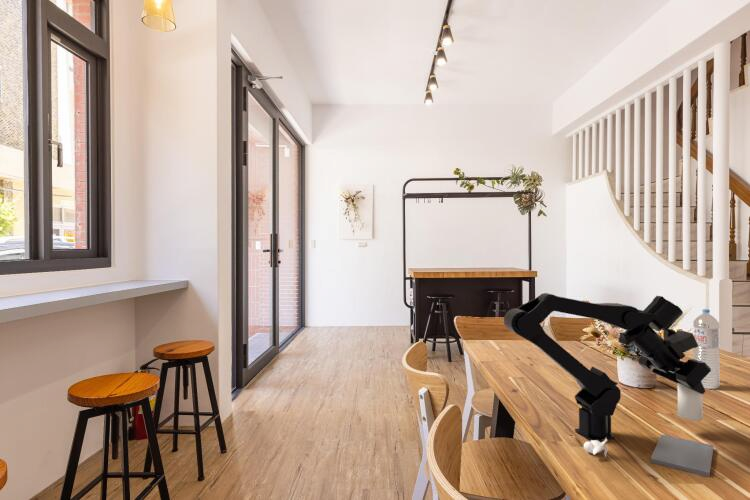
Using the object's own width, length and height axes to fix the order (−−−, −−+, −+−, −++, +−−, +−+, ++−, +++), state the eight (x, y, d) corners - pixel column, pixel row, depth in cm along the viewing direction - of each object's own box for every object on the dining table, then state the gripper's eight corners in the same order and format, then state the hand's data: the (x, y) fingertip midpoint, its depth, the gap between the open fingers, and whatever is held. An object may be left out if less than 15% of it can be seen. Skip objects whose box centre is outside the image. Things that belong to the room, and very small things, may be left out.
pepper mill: (690, 421, 108) (690, 370, 108) (672, 413, 113) (672, 365, 113) (707, 419, 109) (707, 369, 109) (688, 412, 114) (688, 364, 114)
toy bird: (580, 442, 105) (588, 423, 105) (601, 452, 104) (609, 433, 103) (582, 457, 98) (591, 437, 97) (605, 468, 96) (614, 448, 96)
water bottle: (724, 390, 144) (723, 311, 144) (700, 389, 146) (699, 310, 146) (712, 383, 151) (712, 308, 151) (689, 382, 152) (689, 308, 152)
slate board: (709, 476, 90) (709, 472, 90) (650, 462, 96) (650, 458, 96) (713, 448, 102) (713, 445, 102) (661, 437, 109) (661, 434, 109)
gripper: (702, 327, 102) (750, 376, 102) (649, 315, 120) (690, 356, 120) (667, 363, 101) (716, 412, 102) (620, 345, 120) (661, 386, 120)
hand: (695, 389), depth 111 cm, fingers closed on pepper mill, 5 cm apart
